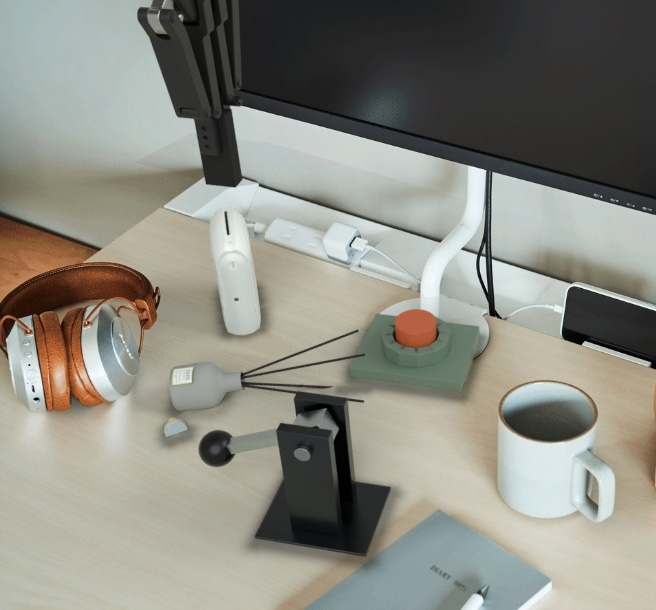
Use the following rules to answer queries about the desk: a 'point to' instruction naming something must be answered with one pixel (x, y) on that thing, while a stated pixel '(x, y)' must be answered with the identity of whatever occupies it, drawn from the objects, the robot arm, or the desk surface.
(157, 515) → the desk surface
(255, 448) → the tap lever
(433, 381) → the button block
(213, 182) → the robot arm
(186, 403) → the reed diffuser
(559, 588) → the desk surface
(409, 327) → the button
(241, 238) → the photo printer
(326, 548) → the bracket
